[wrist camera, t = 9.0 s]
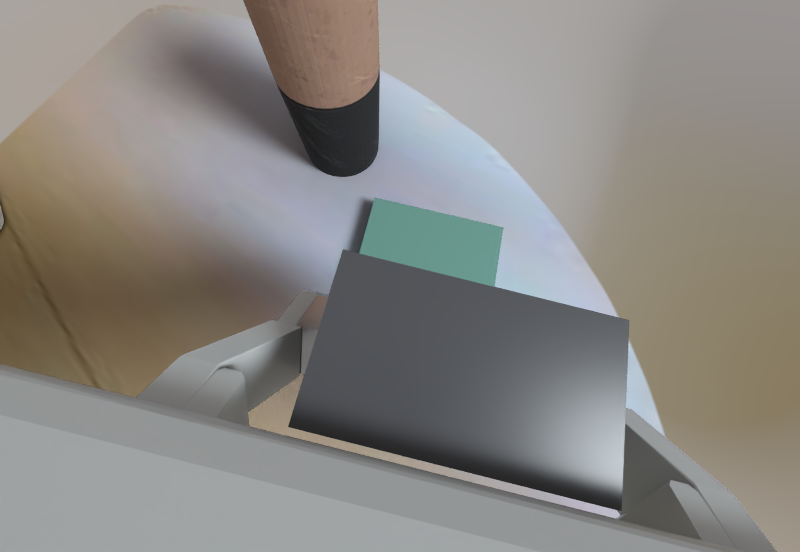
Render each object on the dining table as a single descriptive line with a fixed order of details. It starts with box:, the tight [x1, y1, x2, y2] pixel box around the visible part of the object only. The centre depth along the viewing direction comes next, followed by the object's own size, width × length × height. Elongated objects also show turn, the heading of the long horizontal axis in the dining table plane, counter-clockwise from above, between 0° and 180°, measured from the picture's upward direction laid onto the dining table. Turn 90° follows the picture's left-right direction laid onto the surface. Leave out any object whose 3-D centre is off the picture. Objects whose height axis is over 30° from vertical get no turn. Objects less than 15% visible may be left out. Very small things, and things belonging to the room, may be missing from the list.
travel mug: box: [244, 0, 380, 177], centre depth 20 cm, size 8×8×20 cm
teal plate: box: [359, 198, 503, 287], centre depth 23 cm, size 12×18×6 cm, turn 167°
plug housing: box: [288, 249, 629, 511], centre depth 10 cm, size 6×3×9 cm, turn 76°
